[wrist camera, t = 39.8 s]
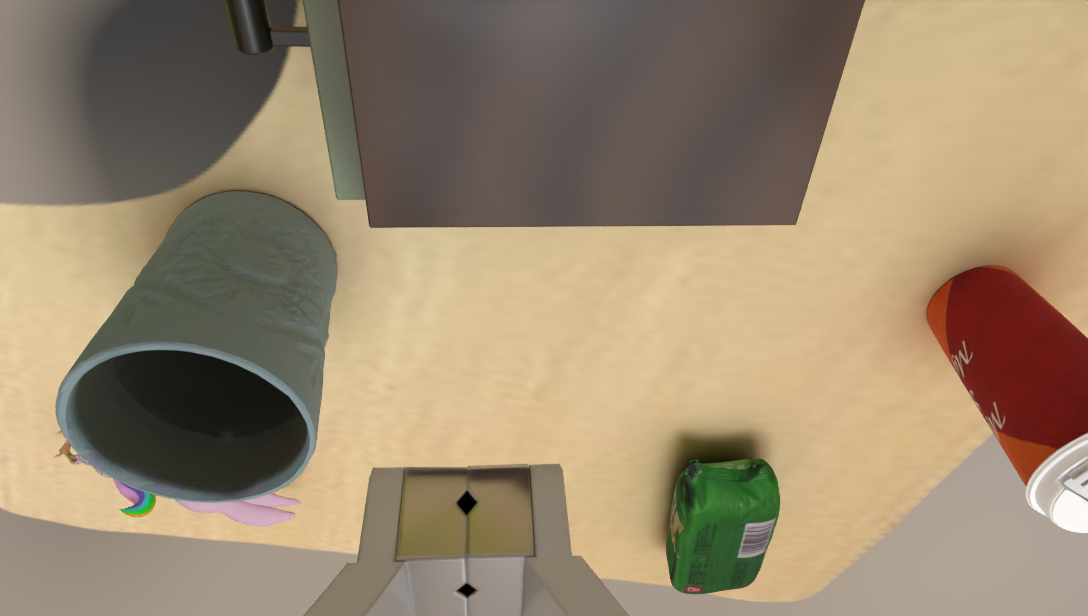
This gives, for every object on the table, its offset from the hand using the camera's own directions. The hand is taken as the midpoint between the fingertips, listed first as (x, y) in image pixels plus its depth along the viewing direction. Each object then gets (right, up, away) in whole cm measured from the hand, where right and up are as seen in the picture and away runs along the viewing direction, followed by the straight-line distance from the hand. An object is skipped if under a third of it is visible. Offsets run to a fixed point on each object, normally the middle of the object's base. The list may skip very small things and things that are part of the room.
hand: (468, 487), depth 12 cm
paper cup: (+28, +3, +33) cm, 43 cm away
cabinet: (+2, +18, +18) cm, 26 cm away
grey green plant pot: (-14, +6, +28) cm, 31 cm away
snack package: (+14, -11, +44) cm, 48 cm away
